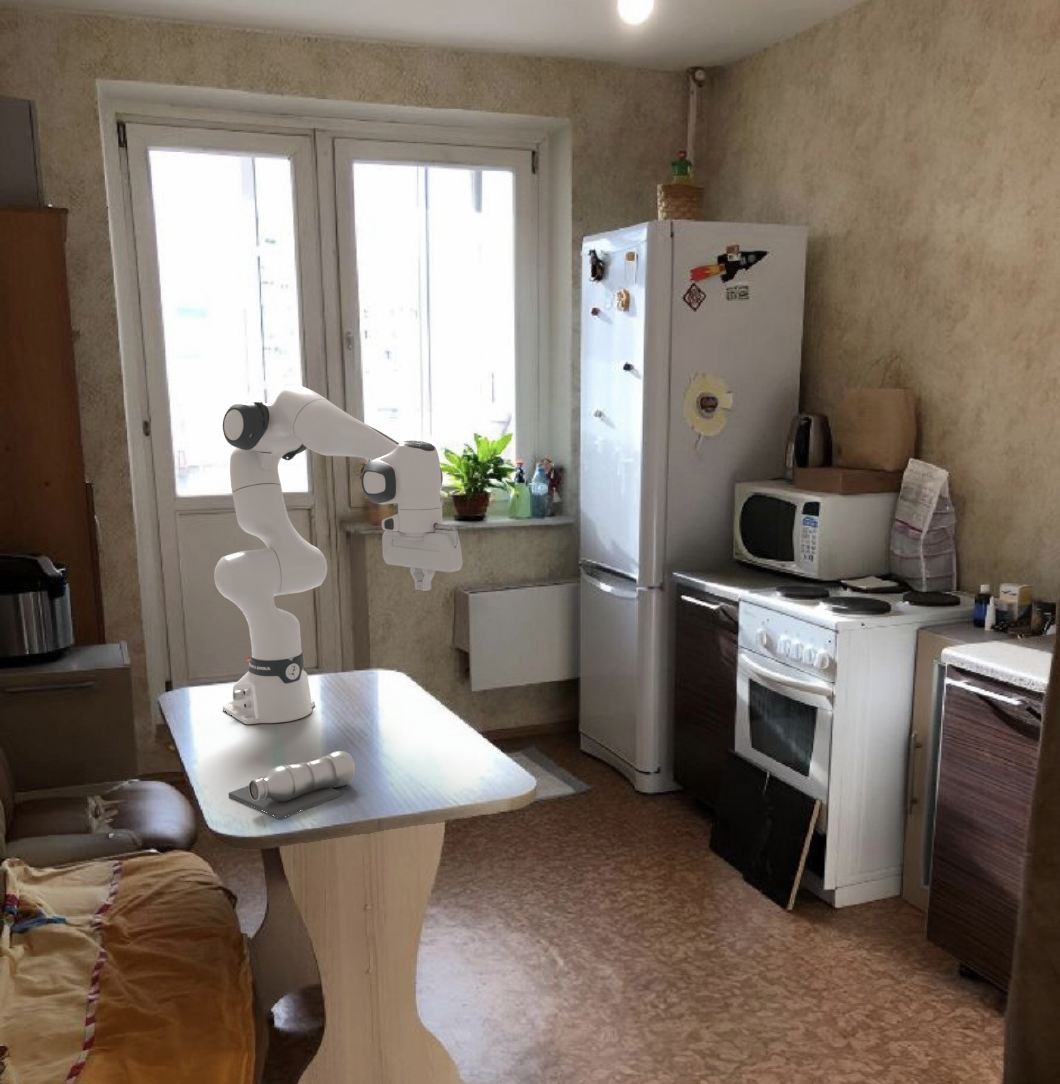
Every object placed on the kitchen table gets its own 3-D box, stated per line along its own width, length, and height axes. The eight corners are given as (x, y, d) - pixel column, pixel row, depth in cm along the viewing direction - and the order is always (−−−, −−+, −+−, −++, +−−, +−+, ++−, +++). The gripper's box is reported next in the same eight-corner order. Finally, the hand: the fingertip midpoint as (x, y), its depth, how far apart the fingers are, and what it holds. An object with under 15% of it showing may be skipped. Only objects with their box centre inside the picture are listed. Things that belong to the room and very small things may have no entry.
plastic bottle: (344, 741, 186) (248, 764, 172) (363, 762, 182) (266, 787, 168) (337, 768, 189) (241, 793, 175) (355, 790, 184) (259, 817, 171)
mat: (228, 796, 180) (228, 792, 180) (288, 775, 190) (288, 771, 189) (280, 819, 169) (280, 815, 169) (340, 795, 179) (340, 791, 179)
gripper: (468, 523, 193) (470, 592, 195) (399, 517, 206) (401, 582, 208) (445, 527, 188) (447, 597, 190) (375, 520, 202) (378, 587, 203)
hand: (423, 589), depth 199 cm, fingers closed
